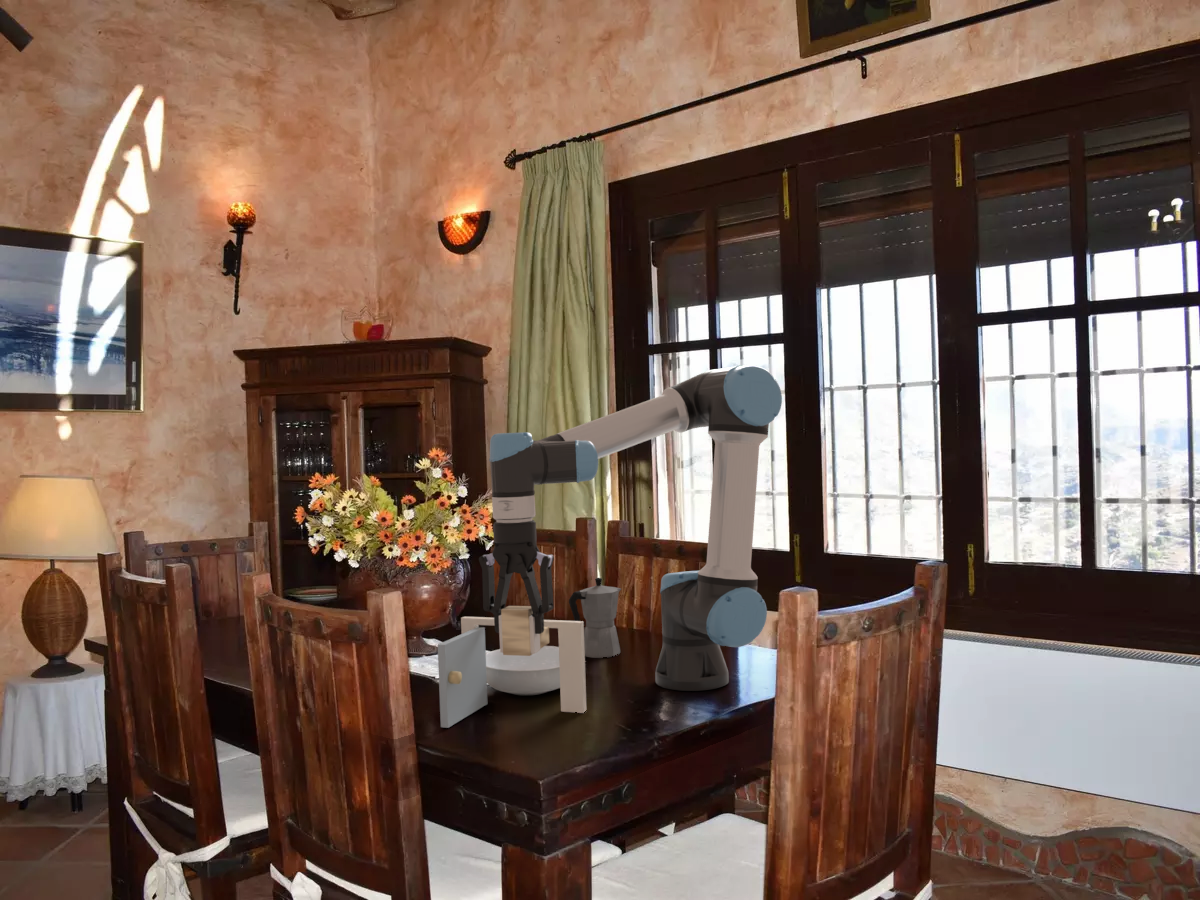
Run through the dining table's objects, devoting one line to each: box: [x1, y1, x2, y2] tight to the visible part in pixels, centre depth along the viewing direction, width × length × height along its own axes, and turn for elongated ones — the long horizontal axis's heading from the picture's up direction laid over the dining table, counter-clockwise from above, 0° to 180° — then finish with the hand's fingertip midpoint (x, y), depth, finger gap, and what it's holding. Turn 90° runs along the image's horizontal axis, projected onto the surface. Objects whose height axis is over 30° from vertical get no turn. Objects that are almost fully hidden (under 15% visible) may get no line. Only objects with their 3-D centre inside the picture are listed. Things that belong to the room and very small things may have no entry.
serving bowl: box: [486, 645, 560, 696], centre depth 201 cm, size 21×21×7 cm
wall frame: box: [460, 616, 587, 714], centre depth 188 cm, size 25×2×17 cm, turn 70°
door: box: [437, 626, 488, 729], centre depth 183 cm, size 16×3×15 cm, turn 160°
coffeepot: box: [568, 577, 622, 659], centre depth 230 cm, size 15×9×18 cm, turn 129°
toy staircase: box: [501, 605, 550, 656], centre depth 175 cm, size 10×5×8 cm, turn 163°
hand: (520, 651), depth 172 cm, fingers closed on toy staircase, 5 cm apart
